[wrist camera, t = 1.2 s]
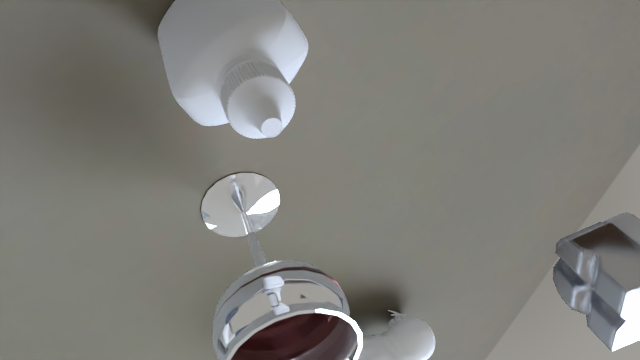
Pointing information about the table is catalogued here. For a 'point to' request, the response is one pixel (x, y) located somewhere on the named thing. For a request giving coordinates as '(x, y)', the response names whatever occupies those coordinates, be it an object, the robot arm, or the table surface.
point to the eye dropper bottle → (233, 62)
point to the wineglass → (273, 288)
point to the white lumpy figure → (400, 341)
